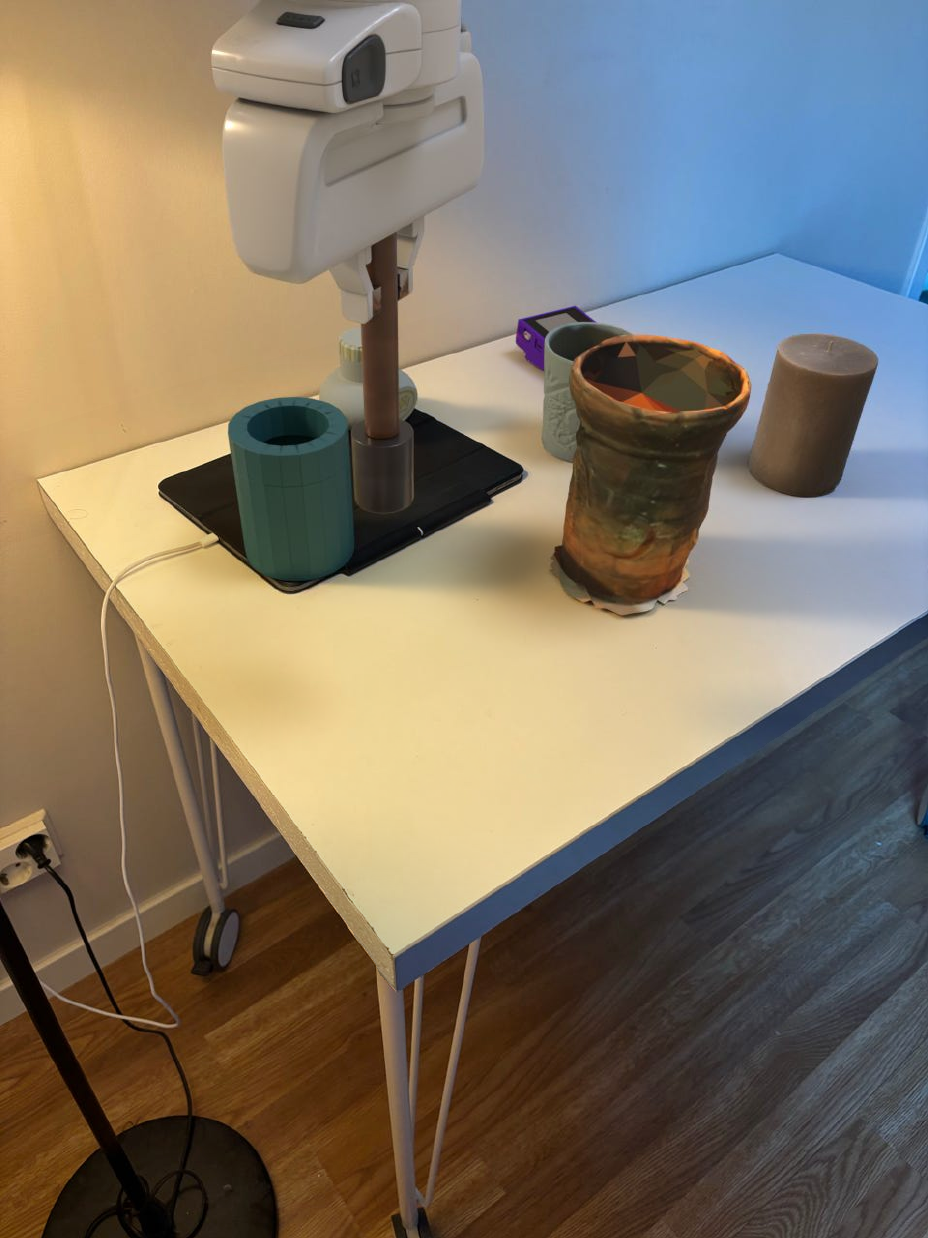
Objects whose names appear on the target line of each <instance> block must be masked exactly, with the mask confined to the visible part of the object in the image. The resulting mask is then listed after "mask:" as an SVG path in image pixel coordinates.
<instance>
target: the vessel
mask: <svg viewBox="0 0 928 1238" xmlns="http://www.w3.org/2000/svg"><path fill="white" fill-rule="evenodd" d="M569 384H570V391H571V395H572V397H573V399H574V402H575V404H576V406H577V408H576V413H577V416H578V418H579V420H580V426H579V430H578V431H577V432H576V441H577V450H576V452H575V454H574V457H573V463H572V471H571V477H570V481H569V487H568V494H567V500H566V504H565V513H564V521H563V533H562V534H563V536H562V542H561V545H556V546H554V552H553V554H552V555H551V557H549V559H550V560H551V563H550V569H549V570H548V571H549V572H550V573H551V574H552V575H553V576H555V577H557V578H558V580H559V582H560V584H561V588H562V590H563V591H564V592H565V593H566V594H567V595H568V596H569V597H570V598H573V599H576V600H577V601H579V602H581V603H583V604H584V603H587V602H589V601H591V602H592V604H593V605H594V606H595V608H596V609H606V610H608V611H611V612H612V613H615V614H617V615H619V616H626V615H630V614H638V613H645V612H648V611H651V610H653V608H654V607H655V605H656V604H657V601H659V602H661V603H662V604H664V605H666V604H667V602H668V601H676V600H677V599H678V596H680V594H682V593H685V592H687V591H689V590H690V589H689V587H688V586H687V584H685V583H684V582H686V581H687V580H688V579H689V578H691V573H690V572H689V570H688V569H687V568H686V566H687V565H689V563H690V558H689V556H690V554H691V552H692V551H693V549H694V548H695V547H696V545H697V542H698V541H699V540H698V539H699V534H700V529H701V526H702V524H703V522H704V521H705V519H706V517H707V515H708V512H709V508H710V501H711V500H710V499H711V491H712V485H713V478H714V474H715V472H716V467H717V465H718V459H719V458H718V457H719V452H720V449H721V447H722V445H723V443H724V442H725V439H726V437H727V433H728V432H729V431H731V430H732V429H733V428H734V427H735V426H736V424H737V423H738V422H739V421H740V420H741V419H742V417H743V415H744V413H745V412H746V410H747V408H748V406H749V403H750V399H751V393H752V382H751V379H750V375H749V374H748V372H747V370H746V368H744V367H743V366H741V365H740V364H739V363H736V362H735V361H734V360H733V359H732V358H731V357H730V356H729V355H728V354H726V353H724V351H721V350H719V349H716V348H712V347H710V346H707V345H704V344H702V343H700V342H697V341H693V340H686V339H682V338H681V339H680V338H674V337H668V336H664V335H657V334H656V335H655V334H653V335H652V334H634V335H621V336H616V337H613V338H610V339H606V340H604V341H603V342H601V343H600V344H598V345H596V346H594V347H592V348H590V349H588V350H586V351H585V352H583V353H581V354H580V355H579V356H578V357H576V358H575V359H574V363H573V365H572V369H571V372H570V376H569Z"/></svg>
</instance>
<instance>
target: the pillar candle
mask: <svg viewBox="0 0 928 1238" xmlns="http://www.w3.org/2000/svg"><path fill="white" fill-rule="evenodd" d="M878 366H879V357H878V356H877V354H876V353H875V352H874V351H873V350H872V349H871V348H869V347H868V346H867V345H865V344H864V343H863V344H862V343H860V342H859V341H856V340H854V339H851V338H848V337H843V336H838V335H835V334H831V333H830V334H829V333H828V334H827V333H822V332H816V333H815V332H812V333H799V334H793V335H791V336H788V337H787V338H786V337H785V338H783V339H782V340H780V342H779V343H778V345H776V353H775V356H774V360H773V364H772V369H771V373H770V376H769V381H768V383H767V388H766V391H765V396H764V401H763V403H762V407H761V412H760V415H759V420H758V423H757V426H756V431H755V435H754V439H753V444H752V446H751V450H750V453H749V454H750V455H749V459H748V463H747V466H748V470H749V472H750V474H751V475H752V477H753V478H754V479H756V480H757V481H758V482H759V483H761V485H764V486H766V487H768V488H770V489H773V490H775V491H778V492H781V493H783V494H786V495H791V496H796V497H805V498H807V497H809V498H810V497H817V496H818V497H819V496H822V495H825V494H829V493H831V492H834V491H836V488H837V487H838V486H839V485H840V483H841V481H842V478H843V475H844V471H845V468H846V464H847V460H848V458H849V455H850V452H851V449H852V446H853V444H854V441H855V436H856V433H857V430H858V427H859V423H860V421H861V419H862V415H863V412H864V408H865V405H866V403H867V400H868V395H869V393H870V390H871V388H872V384H873V381H874V378H875V374H876V371H877V368H878Z"/></svg>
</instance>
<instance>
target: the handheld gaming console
mask: <svg viewBox="0 0 928 1238" xmlns="http://www.w3.org/2000/svg"><path fill="white" fill-rule="evenodd" d="M577 322H596V323H598V322H597V321H596V320H595V319H593V318H592V317H590V316H589V315H588V314H586V313H585V312H584V311H583V310H582V309H581V308H579V307H578V306H577V305H572V306H568V307H565V308H564V307H563V308H560V309H555V310H551V311H547V312H544V313H540V314H535V315H531V316H526V317H523V318H519V319H518V320H517V327H516V333H515V344H516V345H517V347H518V348H519V349H521V350H522V351H523V353H524V358H525V360H527V362H529V363H531V364H532V365H533V366H535V367H537V368H538V369H540V370H541V371H543V372H545V369H544V353H545V338H546V336H547V334H548V333H549V332H550V331H551V330H553V329H554V328H556V327H559V326H561V325H565V324H569V323H577Z"/></svg>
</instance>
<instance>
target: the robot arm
mask: <svg viewBox="0 0 928 1238" xmlns="http://www.w3.org/2000/svg"><path fill="white" fill-rule="evenodd" d="M462 2H463V1H462V0H258V1H257V2H256V3H255V4H254V5H253V6H252V7H251V8H250V10H249V11H247V12H246V14H245V15H243V16H242V17H241V18H240V19H239V20H238V21H237V22H236V23H235V24H233V25H232V26H231V27H230V28H229V29H228V30H227V31H226V32H224V33H223V34H222V35H221V36H220V37H218V38H217V40H216V41H215V42H214V43H213V46H212V47H211V48H212V49H211V55H210V62H211V64H210V65H211V72H212V77H213V83H214V86H215V88H216V90H217V91H218V92H219V93H220V94H222V95H226V96H230V97H234V98H236V99H235V100H234V101H233V102H232V103H231V105H230V106H229V108H228V109H227V111H226V113H225V118H224V121H223V126H222V133H221V134H222V136H221V137H222V138H221V143H222V144H221V150H222V163H223V164H222V165H223V175H224V177H223V178H224V186H225V187H224V188H225V195H226V202H227V203H226V205H227V211H228V218H229V226H230V232H231V239H232V243H233V247H234V250H235V253H236V255H237V257H238V258H239V260H240V261H241V262H242V263H243V265H244V266H245V267H246V268H247V269H248V271H249V272H251V273H253V274H255V275H257V276H262V277H264V278H268V279H272V280H275V281H280V282H285V283H290V284H294V285H295V284H296V285H301V284H307V283H308V282H311V280H313V279H315V278H316V277H318V276H320V275H323V274H324V273H326V272H327V271H329V273H330V274H331V277H332V279H333V280H334V282H335V284H336V286H337V287H338V289H340V291H339V292H340V306H341V307H340V308H341V314H342V316H343V318H344V319H346V320H347V321H349V322H353V323H357V324H360V325H361V324H365V323H367V322H368V321H370V320H372V319H373V318H374V317H376V316H377V315H379V314H380V312H381V304H380V300H381V286H377V285H373V284H372V283H371V281H370V278H369V275H368V272H367V269H366V265H367V264H369V263H371V260H372V259H371V246H372V245H373V244H375V243H377V242H379V241H380V240H382V239H384V238H386V237H388V236H389V235H391V234H393V233H395V232H397V275H398V302H400V301H402V300H403V299H404V298H406V297H407V296H409V295H411V294H412V292H413V291H414V266H415V264H416V260H417V256H418V253H419V250H420V247H421V244H422V241H423V237H424V234H425V216H427V215H428V214H431V213H432V212H434V211H435V210H437V209H440V208H441V207H443V206H445V205H446V204H448V203H450V202H452V201H453V200H456V199H457V198H459V197H461V196H462V195H464V194H466V193H468V192H469V191H471V190H473V189H475V188H476V187H477V186H478V184H479V182H480V179H481V176H482V173H483V169H484V166H485V155H486V154H485V150H486V149H485V148H486V147H485V146H486V145H485V142H486V140H485V137H486V136H485V135H486V133H485V97H484V95H485V93H484V82H483V73H482V68H481V64H480V61H479V60H478V58H477V57H476V56H475V55H474V54H473V53H472V48H473V47H472V45H473V44H472V35H471V32H470V31H468V29H467V28H466V25H465V23H464V22H463V19H462Z"/></svg>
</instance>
